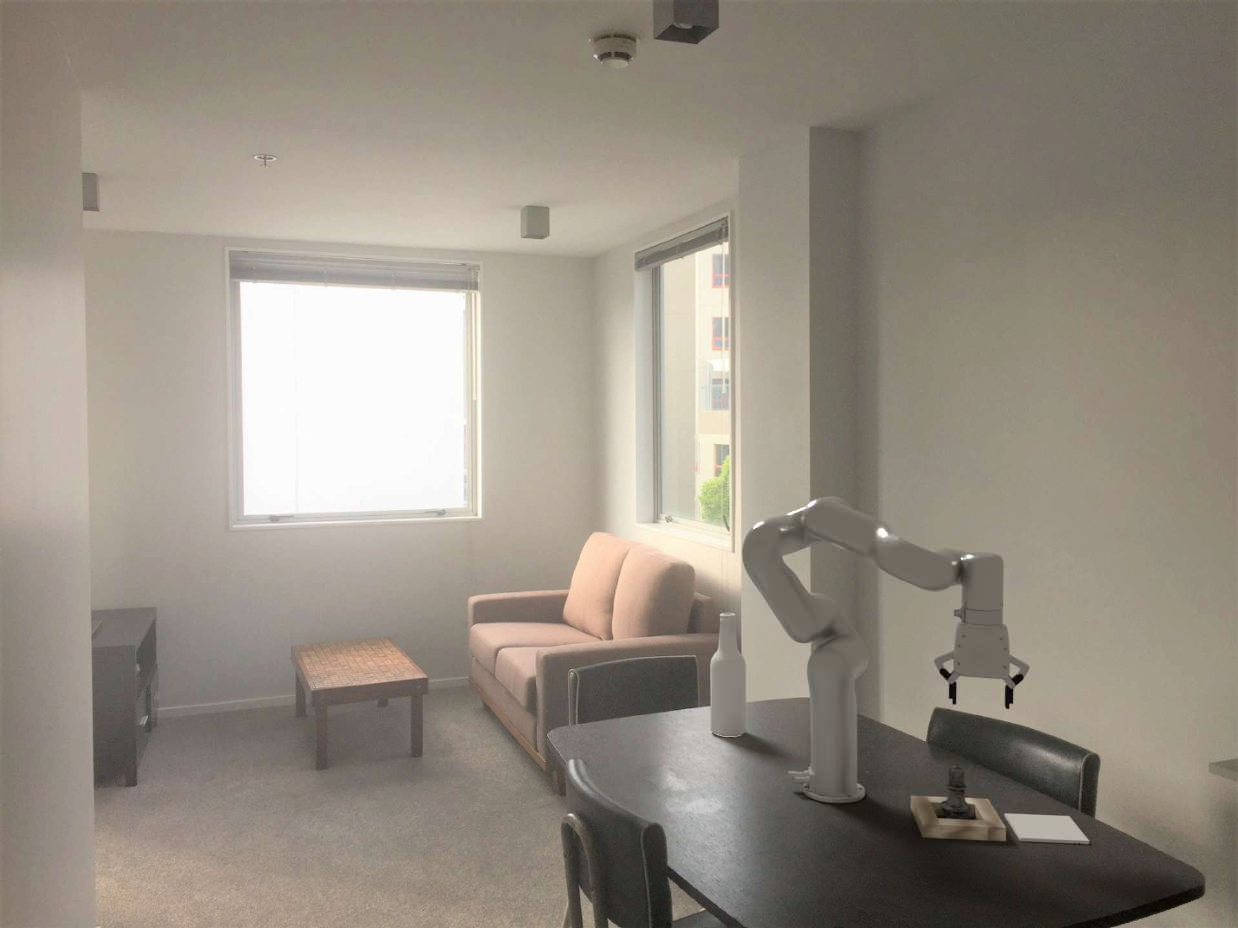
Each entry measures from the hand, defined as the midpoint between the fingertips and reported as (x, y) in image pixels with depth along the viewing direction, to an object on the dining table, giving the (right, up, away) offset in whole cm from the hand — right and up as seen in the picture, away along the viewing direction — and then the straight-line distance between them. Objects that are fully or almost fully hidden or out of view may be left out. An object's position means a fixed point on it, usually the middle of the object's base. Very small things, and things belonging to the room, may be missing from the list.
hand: (980, 704), depth 196 cm
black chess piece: (-5, -23, -2) cm, 23 cm away
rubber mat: (+11, -22, -5) cm, 25 cm away
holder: (-5, -22, -2) cm, 23 cm away
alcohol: (-42, -21, +58) cm, 75 cm away
